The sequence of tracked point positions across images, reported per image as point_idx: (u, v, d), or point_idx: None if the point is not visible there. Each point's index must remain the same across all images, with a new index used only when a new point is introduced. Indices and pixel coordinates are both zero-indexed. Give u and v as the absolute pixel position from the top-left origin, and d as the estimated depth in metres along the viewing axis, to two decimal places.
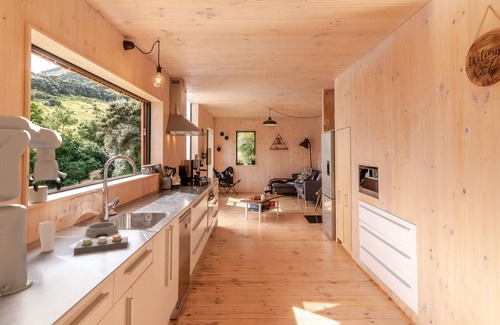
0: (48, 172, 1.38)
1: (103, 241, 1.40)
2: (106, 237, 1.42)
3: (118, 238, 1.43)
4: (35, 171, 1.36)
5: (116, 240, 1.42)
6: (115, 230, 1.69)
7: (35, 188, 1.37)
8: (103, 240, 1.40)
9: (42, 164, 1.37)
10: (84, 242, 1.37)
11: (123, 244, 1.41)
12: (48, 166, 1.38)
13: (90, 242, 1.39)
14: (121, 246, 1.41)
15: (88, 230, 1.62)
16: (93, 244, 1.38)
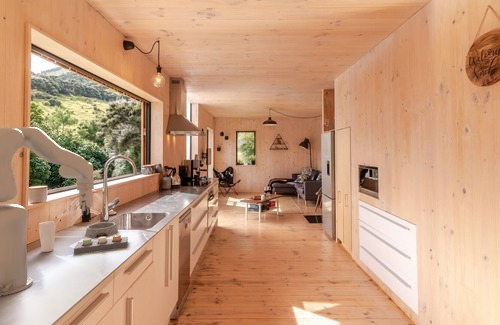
0: (92, 199, 1.41)
1: (103, 241, 1.40)
2: (106, 237, 1.42)
3: (118, 238, 1.43)
4: (90, 199, 1.35)
5: (116, 240, 1.42)
6: (115, 230, 1.69)
7: (89, 218, 1.37)
8: (103, 240, 1.40)
9: (91, 191, 1.38)
10: (84, 242, 1.37)
11: (123, 244, 1.41)
12: (92, 193, 1.41)
13: (90, 242, 1.39)
14: (121, 246, 1.41)
15: (88, 230, 1.62)
16: (93, 244, 1.38)
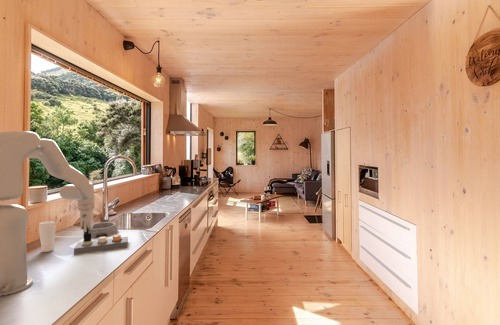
0: (93, 219, 1.41)
1: (103, 241, 1.40)
2: (106, 237, 1.42)
3: (118, 238, 1.43)
4: (91, 220, 1.36)
5: (116, 240, 1.42)
6: (115, 230, 1.69)
7: (90, 237, 1.39)
8: (103, 240, 1.40)
9: (92, 211, 1.39)
10: (84, 244, 1.37)
11: (123, 244, 1.41)
12: None
13: (90, 244, 1.39)
14: (121, 246, 1.41)
15: None
16: (93, 244, 1.38)
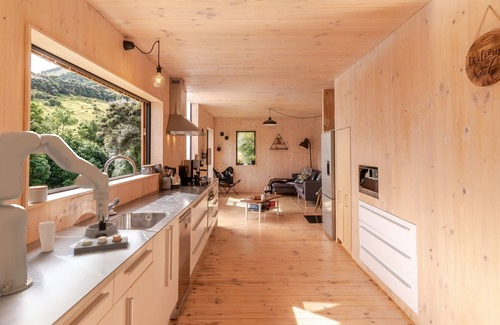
0: None
1: (103, 241, 1.40)
2: (106, 237, 1.42)
3: (118, 238, 1.43)
4: (106, 209, 1.39)
5: (116, 240, 1.42)
6: (114, 230, 1.69)
7: (105, 226, 1.42)
8: (103, 240, 1.40)
9: (107, 201, 1.41)
10: (84, 244, 1.37)
11: (123, 244, 1.41)
12: (107, 202, 1.44)
13: (90, 244, 1.39)
14: (121, 246, 1.41)
15: (87, 230, 1.62)
16: (93, 244, 1.38)
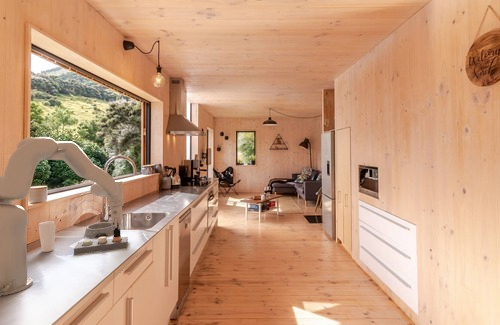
0: None
1: (103, 241, 1.40)
2: (106, 237, 1.42)
3: (118, 239, 1.43)
4: (121, 216, 1.41)
5: (116, 241, 1.42)
6: None
7: None
8: (103, 240, 1.40)
9: (121, 208, 1.44)
10: (84, 244, 1.37)
11: (123, 244, 1.41)
12: None
13: (90, 244, 1.39)
14: (121, 246, 1.41)
15: (87, 230, 1.62)
16: (93, 244, 1.38)
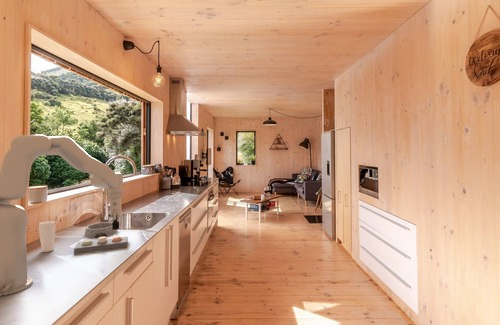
0: (121, 208, 1.46)
1: (103, 241, 1.40)
2: (106, 237, 1.42)
3: (118, 240, 1.43)
4: (120, 208, 1.41)
5: None
6: (114, 230, 1.69)
7: None
8: (103, 240, 1.40)
9: (120, 200, 1.44)
10: (84, 244, 1.37)
11: (123, 244, 1.41)
12: None
13: (90, 244, 1.39)
14: (121, 246, 1.41)
15: (87, 230, 1.62)
16: (93, 244, 1.38)
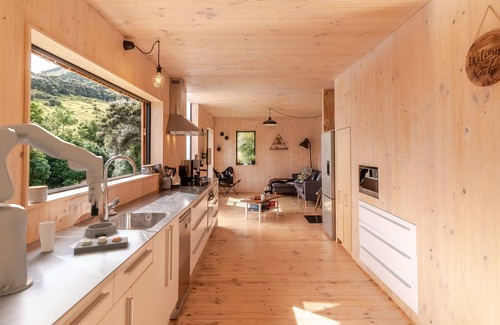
0: (101, 193, 1.38)
1: (103, 241, 1.40)
2: (106, 237, 1.42)
3: (118, 240, 1.43)
4: (99, 193, 1.33)
5: None
6: (114, 230, 1.68)
7: (98, 212, 1.36)
8: (103, 240, 1.40)
9: (100, 185, 1.36)
10: (84, 244, 1.37)
11: (123, 244, 1.41)
12: (101, 187, 1.39)
13: (90, 244, 1.39)
14: (121, 246, 1.41)
15: (87, 230, 1.62)
16: (93, 244, 1.38)
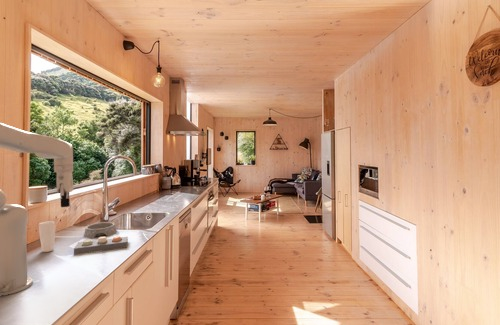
0: (72, 183, 1.29)
1: (103, 241, 1.40)
2: (106, 237, 1.42)
3: (118, 240, 1.43)
4: (68, 182, 1.24)
5: None
6: (114, 230, 1.68)
7: (69, 203, 1.28)
8: (103, 240, 1.40)
9: (70, 174, 1.27)
10: (84, 244, 1.37)
11: (123, 244, 1.41)
12: (71, 176, 1.29)
13: (90, 244, 1.39)
14: (121, 246, 1.41)
15: (86, 230, 1.61)
16: (93, 244, 1.38)
